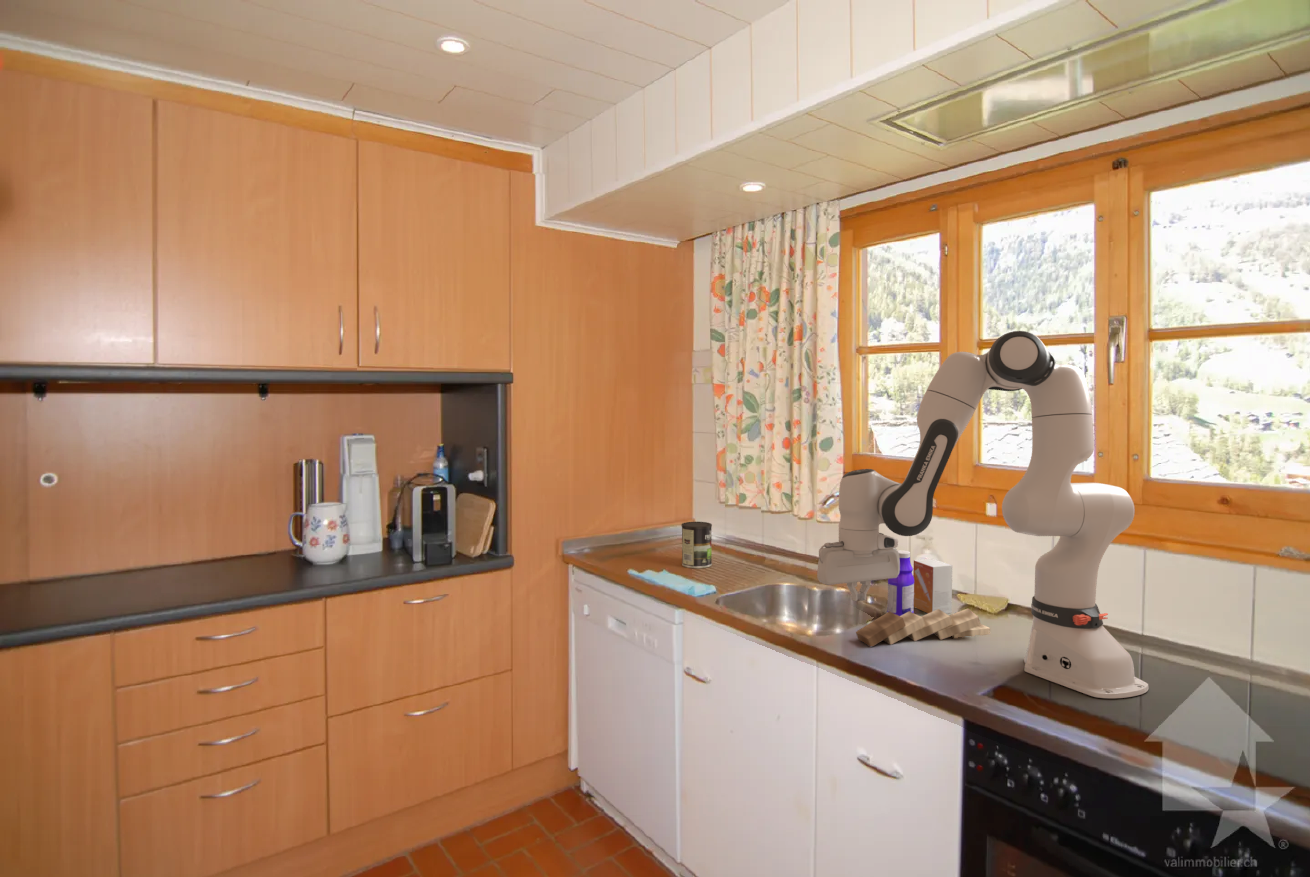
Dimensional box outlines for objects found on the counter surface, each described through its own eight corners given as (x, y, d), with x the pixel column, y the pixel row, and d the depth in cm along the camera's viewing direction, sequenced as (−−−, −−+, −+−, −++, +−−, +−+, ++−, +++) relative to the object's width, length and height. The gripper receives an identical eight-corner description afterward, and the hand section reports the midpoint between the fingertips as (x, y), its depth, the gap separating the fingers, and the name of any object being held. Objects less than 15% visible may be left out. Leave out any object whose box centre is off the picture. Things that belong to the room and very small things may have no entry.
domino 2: (890, 644, 160) (925, 625, 162) (888, 636, 160) (922, 617, 162) (877, 637, 165) (911, 619, 167) (875, 629, 164) (909, 611, 167)
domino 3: (914, 641, 162) (952, 624, 163) (911, 633, 162) (949, 616, 163) (904, 633, 167) (941, 616, 168) (901, 625, 167) (938, 608, 167)
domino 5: (954, 641, 164) (989, 637, 166) (954, 631, 164) (990, 628, 166) (940, 633, 169) (975, 630, 171) (940, 625, 169) (975, 621, 171)
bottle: (896, 612, 183) (897, 547, 182) (917, 617, 179) (918, 550, 178) (883, 618, 178) (884, 552, 177) (904, 623, 174) (905, 555, 173)
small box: (911, 607, 188) (912, 559, 187) (931, 604, 190) (932, 557, 189) (932, 616, 180) (933, 566, 180) (952, 613, 182) (953, 564, 181)
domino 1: (871, 647, 158) (905, 625, 161) (867, 639, 158) (902, 617, 160) (858, 639, 163) (892, 619, 165) (855, 632, 163) (889, 611, 165)
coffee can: (715, 562, 240) (715, 522, 239) (707, 569, 230) (707, 527, 229) (686, 560, 243) (686, 520, 242) (677, 567, 233) (677, 525, 233)
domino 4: (940, 639, 163) (981, 625, 162) (937, 631, 162) (978, 616, 162) (931, 630, 168) (971, 616, 167) (929, 622, 167) (968, 608, 167)
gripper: (827, 545, 152) (827, 608, 152) (904, 539, 159) (904, 599, 159) (811, 541, 158) (811, 601, 158) (886, 535, 165) (886, 592, 165)
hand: (858, 600), depth 159 cm, fingers closed
